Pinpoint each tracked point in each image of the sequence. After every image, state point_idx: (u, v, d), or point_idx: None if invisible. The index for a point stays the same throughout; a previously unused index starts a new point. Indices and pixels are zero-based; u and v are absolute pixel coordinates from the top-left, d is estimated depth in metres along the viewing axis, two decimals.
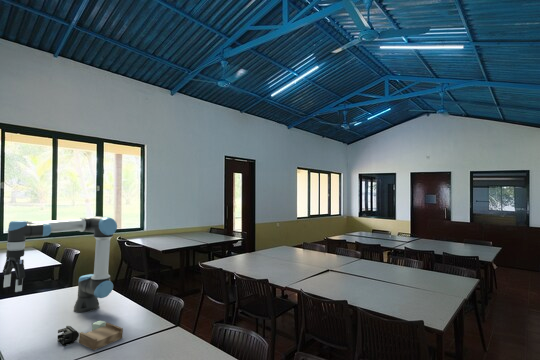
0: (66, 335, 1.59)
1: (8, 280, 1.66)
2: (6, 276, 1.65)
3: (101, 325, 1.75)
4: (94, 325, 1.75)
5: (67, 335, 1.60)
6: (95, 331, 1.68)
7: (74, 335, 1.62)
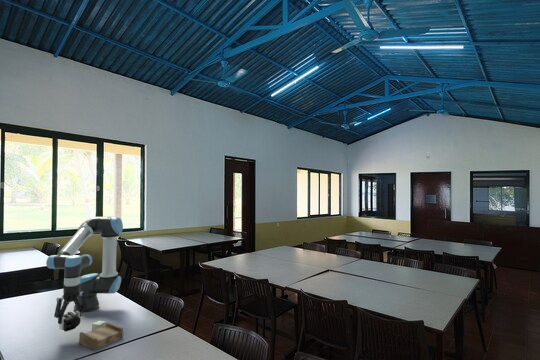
0: (68, 320, 1.60)
1: None
2: (76, 312, 1.68)
3: (101, 325, 1.75)
4: (94, 325, 1.75)
5: (69, 320, 1.60)
6: (95, 331, 1.68)
7: (76, 321, 1.63)
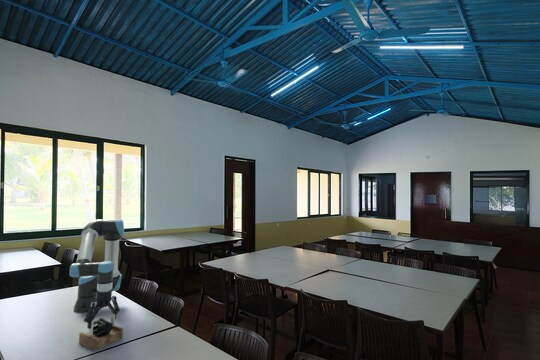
0: (101, 326, 1.62)
1: (112, 320, 1.71)
2: (111, 315, 1.72)
3: None
4: (94, 325, 1.75)
5: (102, 326, 1.62)
6: None
7: (108, 327, 1.64)
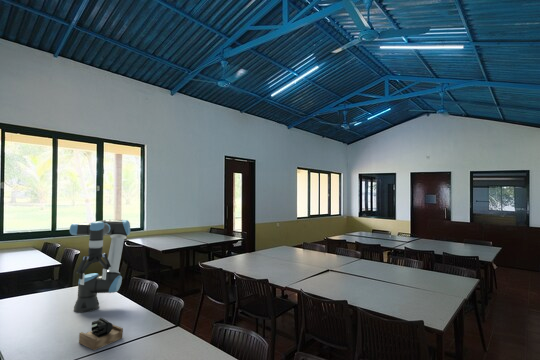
0: (101, 326, 1.62)
1: (104, 274, 1.89)
2: (103, 270, 1.90)
3: None
4: (94, 325, 1.75)
5: (102, 327, 1.62)
6: None
7: (108, 327, 1.64)
